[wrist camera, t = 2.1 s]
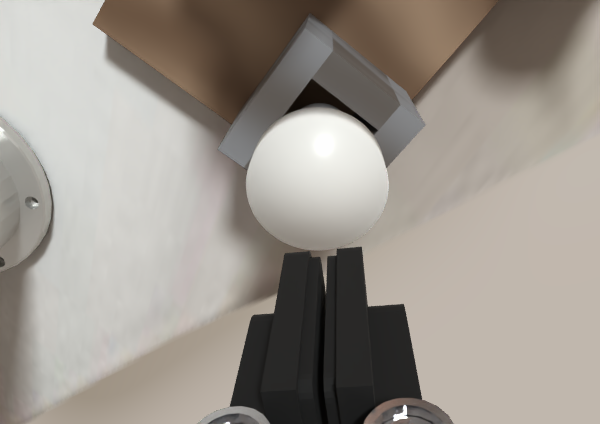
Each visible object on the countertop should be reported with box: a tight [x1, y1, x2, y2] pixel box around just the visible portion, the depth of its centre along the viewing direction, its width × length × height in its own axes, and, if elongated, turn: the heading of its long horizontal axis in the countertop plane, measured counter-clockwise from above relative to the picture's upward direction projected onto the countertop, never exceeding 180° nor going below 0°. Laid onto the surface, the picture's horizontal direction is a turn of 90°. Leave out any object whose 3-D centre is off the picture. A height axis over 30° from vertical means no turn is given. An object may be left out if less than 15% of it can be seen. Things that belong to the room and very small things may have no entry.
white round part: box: [246, 103, 389, 251], centre depth 20 cm, size 5×5×6 cm
